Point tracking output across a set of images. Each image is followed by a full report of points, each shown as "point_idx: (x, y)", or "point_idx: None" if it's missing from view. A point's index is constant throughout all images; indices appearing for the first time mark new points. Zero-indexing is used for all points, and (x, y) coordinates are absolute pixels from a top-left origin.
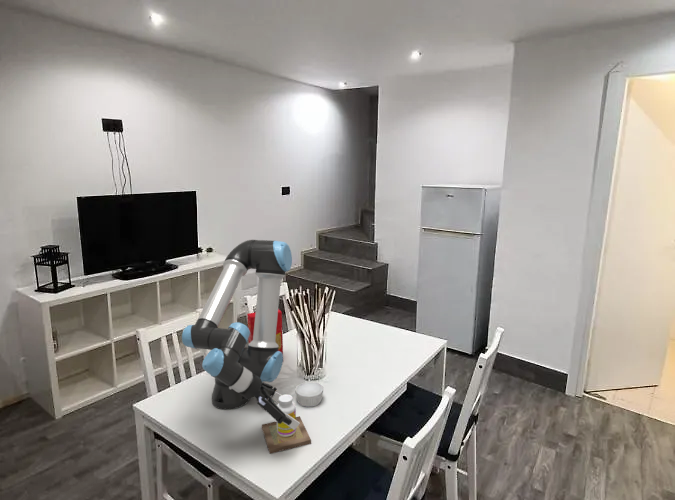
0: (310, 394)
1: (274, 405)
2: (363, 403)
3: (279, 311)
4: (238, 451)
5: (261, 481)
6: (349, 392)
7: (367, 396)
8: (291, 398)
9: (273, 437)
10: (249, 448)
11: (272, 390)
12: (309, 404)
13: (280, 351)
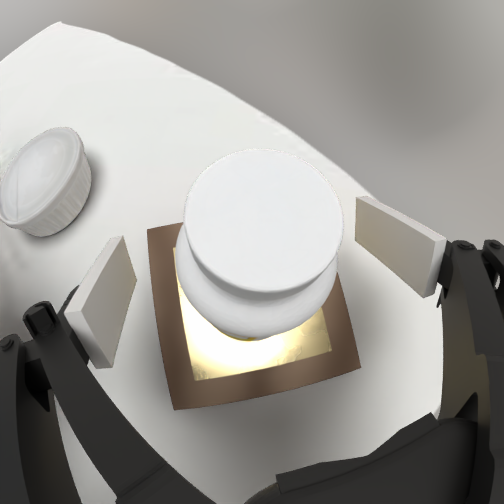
0: (65, 164)
1: (497, 316)
2: (143, 73)
3: None
4: None
5: None
6: (83, 98)
7: (121, 68)
8: (282, 155)
9: (284, 357)
10: (308, 448)
11: (76, 358)
12: (86, 190)
13: None
